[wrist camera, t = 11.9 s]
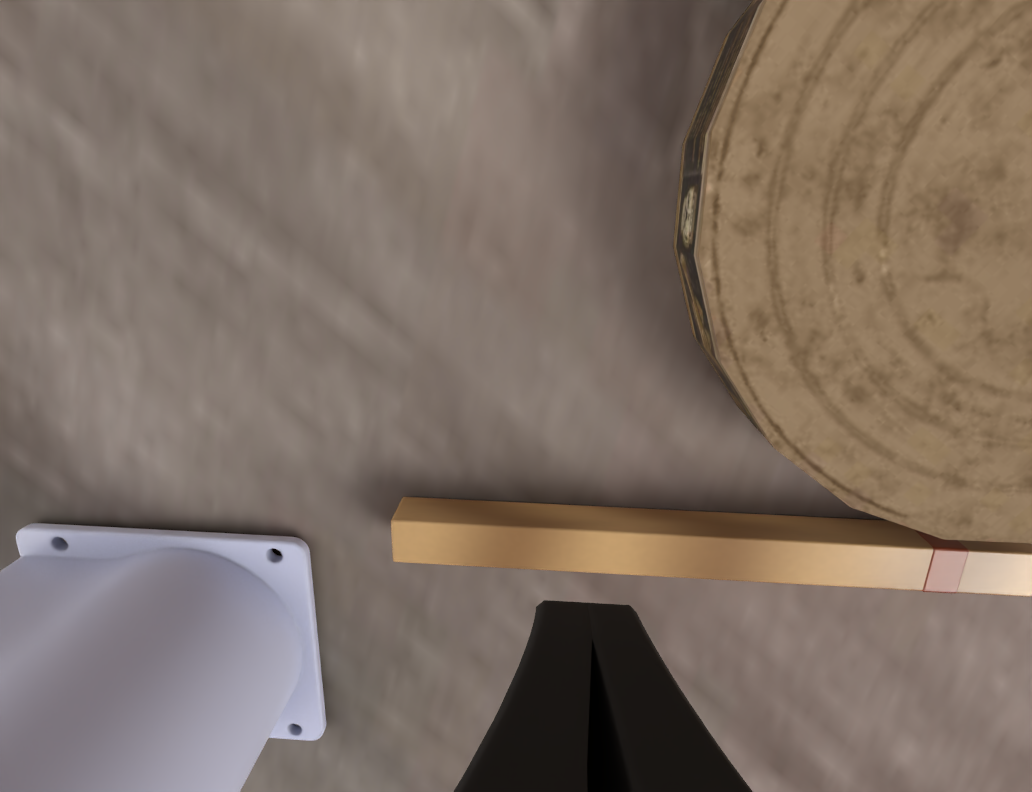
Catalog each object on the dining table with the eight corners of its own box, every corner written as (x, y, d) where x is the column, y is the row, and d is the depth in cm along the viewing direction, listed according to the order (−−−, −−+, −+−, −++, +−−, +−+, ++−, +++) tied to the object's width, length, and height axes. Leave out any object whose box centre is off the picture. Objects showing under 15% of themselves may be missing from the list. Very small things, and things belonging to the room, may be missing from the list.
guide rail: (404, 535, 19) (392, 563, 18) (402, 494, 19) (389, 520, 17) (994, 566, 18) (1032, 598, 17) (1007, 524, 18) (1047, 554, 16)
